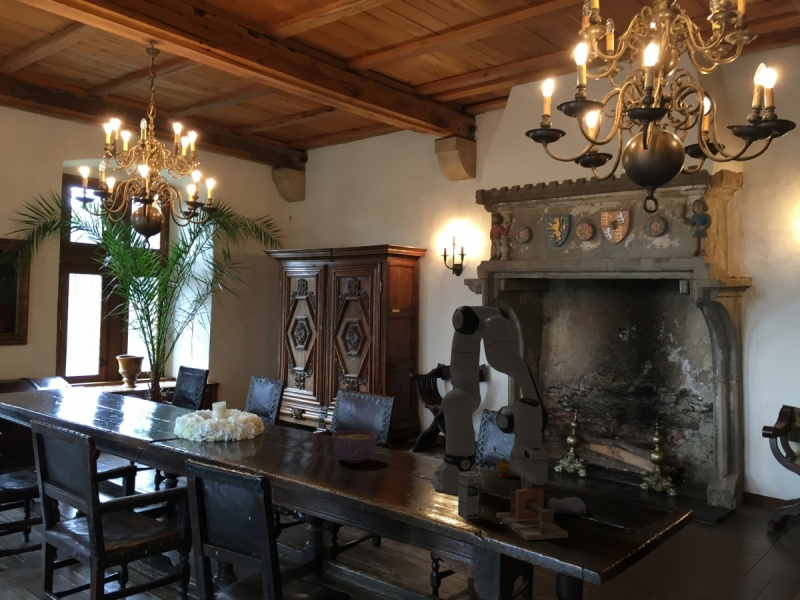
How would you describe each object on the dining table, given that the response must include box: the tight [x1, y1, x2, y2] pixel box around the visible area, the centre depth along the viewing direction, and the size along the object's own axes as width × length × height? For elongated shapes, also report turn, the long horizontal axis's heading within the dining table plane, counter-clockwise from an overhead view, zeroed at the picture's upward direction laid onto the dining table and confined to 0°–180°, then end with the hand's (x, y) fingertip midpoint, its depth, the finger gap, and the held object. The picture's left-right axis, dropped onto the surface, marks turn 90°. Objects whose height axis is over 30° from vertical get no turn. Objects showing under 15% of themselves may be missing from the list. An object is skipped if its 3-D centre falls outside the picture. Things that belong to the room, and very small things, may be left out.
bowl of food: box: [331, 430, 378, 464], centre depth 290 cm, size 20×20×12 cm
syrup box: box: [457, 471, 483, 521], centre depth 219 cm, size 6×6×14 cm
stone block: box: [547, 496, 587, 516], centre depth 228 cm, size 12×5×10 cm
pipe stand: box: [496, 490, 569, 541], centre depth 210 cm, size 22×14×8 cm, turn 16°
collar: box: [515, 487, 545, 519], centre depth 212 cm, size 2×9×9 cm, turn 106°
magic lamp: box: [491, 446, 512, 478], centre depth 273 cm, size 7×18×11 cm, turn 41°
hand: (526, 491), depth 214 cm, fingers closed
